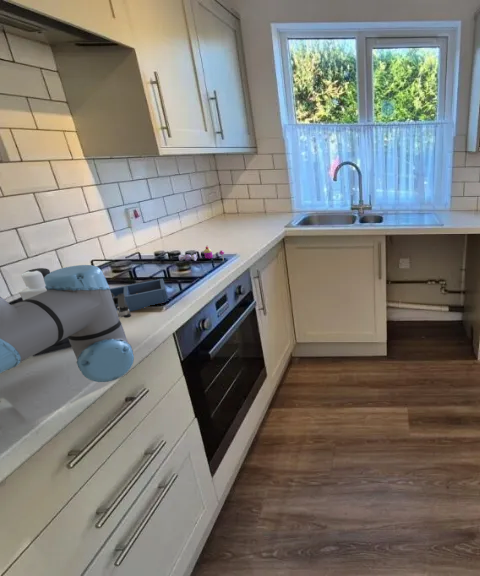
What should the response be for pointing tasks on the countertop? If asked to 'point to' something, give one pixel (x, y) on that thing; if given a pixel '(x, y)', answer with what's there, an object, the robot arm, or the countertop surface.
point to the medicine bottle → (34, 282)
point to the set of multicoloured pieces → (188, 257)
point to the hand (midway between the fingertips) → (82, 298)
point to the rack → (142, 294)
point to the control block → (56, 346)
